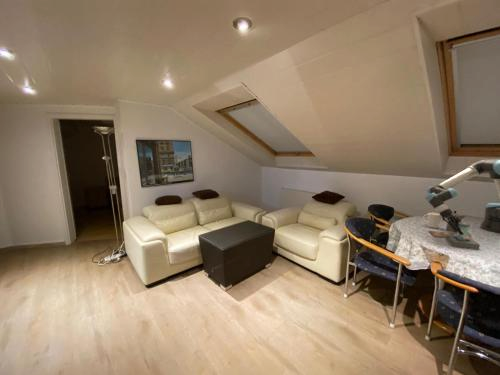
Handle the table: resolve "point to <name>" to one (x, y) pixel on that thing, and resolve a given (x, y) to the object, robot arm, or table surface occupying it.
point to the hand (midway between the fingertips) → (468, 237)
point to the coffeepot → (449, 225)
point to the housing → (462, 242)
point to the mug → (433, 220)
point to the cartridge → (465, 228)
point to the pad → (440, 234)
